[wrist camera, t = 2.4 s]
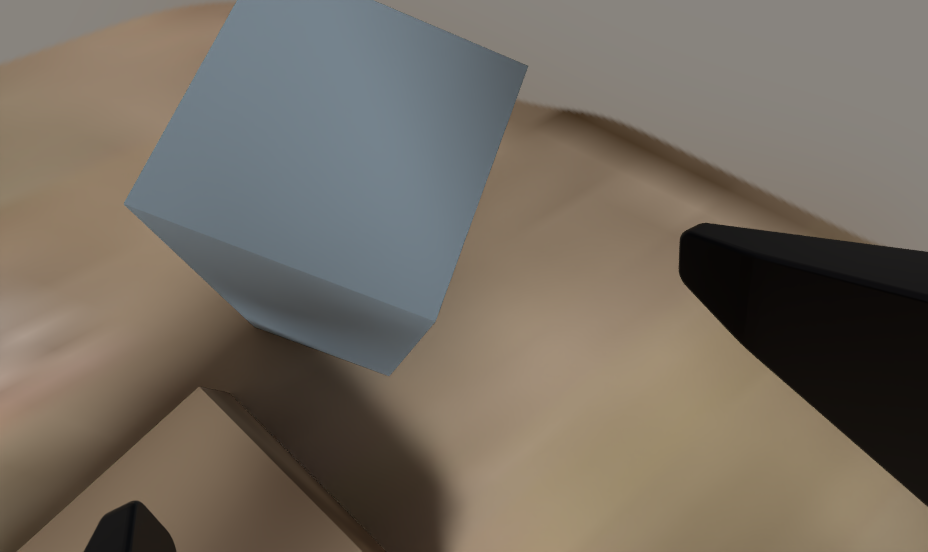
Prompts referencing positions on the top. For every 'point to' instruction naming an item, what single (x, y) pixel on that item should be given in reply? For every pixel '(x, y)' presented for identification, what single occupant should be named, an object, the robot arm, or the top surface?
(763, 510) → the top surface
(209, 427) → the base block
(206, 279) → the pillar
